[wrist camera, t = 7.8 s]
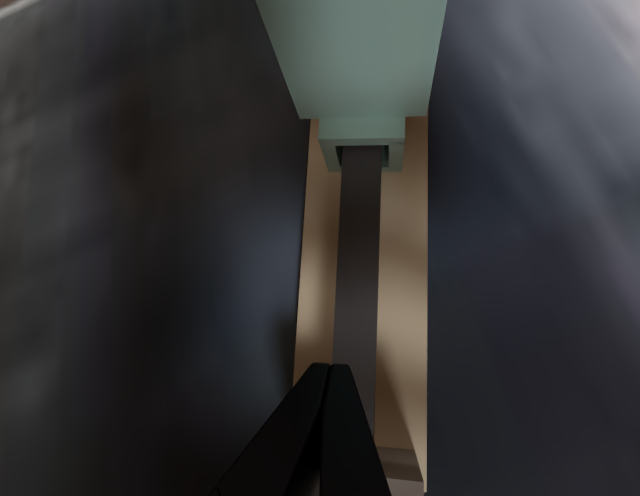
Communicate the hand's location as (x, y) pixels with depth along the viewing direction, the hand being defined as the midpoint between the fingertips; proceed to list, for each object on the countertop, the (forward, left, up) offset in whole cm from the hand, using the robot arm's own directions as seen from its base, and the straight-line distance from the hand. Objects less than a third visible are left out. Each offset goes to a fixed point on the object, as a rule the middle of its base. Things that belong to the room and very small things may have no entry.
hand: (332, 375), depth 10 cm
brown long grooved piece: (+4, +3, -11) cm, 12 cm away
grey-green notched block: (+9, +5, -9) cm, 14 cm away
